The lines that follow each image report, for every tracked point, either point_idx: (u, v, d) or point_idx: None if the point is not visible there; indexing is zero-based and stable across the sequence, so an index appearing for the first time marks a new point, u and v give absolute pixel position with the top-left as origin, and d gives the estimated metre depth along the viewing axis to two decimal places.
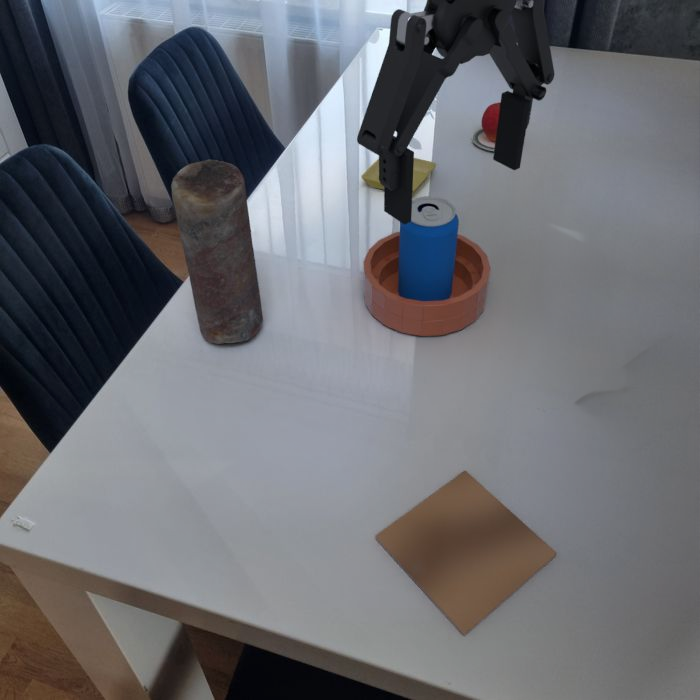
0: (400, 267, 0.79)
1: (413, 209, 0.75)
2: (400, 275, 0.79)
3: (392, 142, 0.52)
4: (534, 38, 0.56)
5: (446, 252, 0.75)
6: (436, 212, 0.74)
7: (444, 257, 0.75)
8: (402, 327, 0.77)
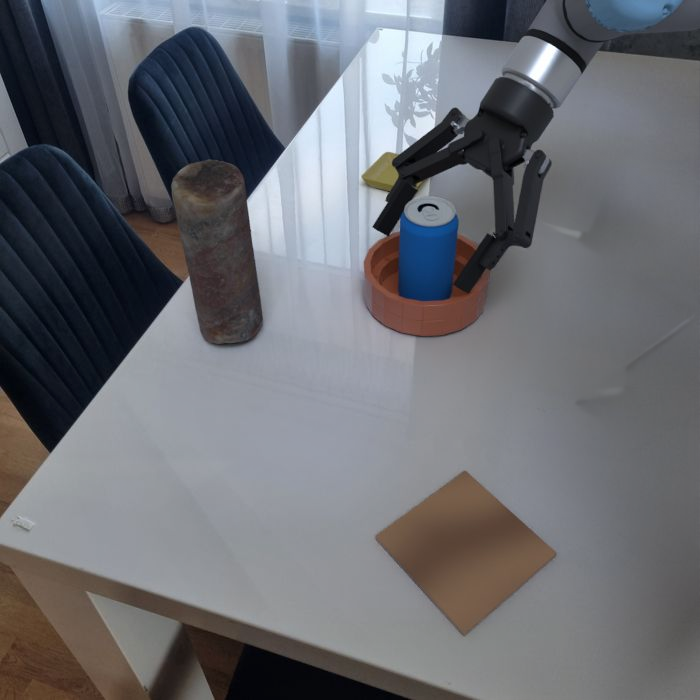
0: (400, 267, 0.79)
1: (413, 209, 0.75)
2: (400, 275, 0.79)
3: None
4: None
5: (446, 252, 0.75)
6: (436, 212, 0.74)
7: (444, 257, 0.75)
8: (402, 327, 0.77)
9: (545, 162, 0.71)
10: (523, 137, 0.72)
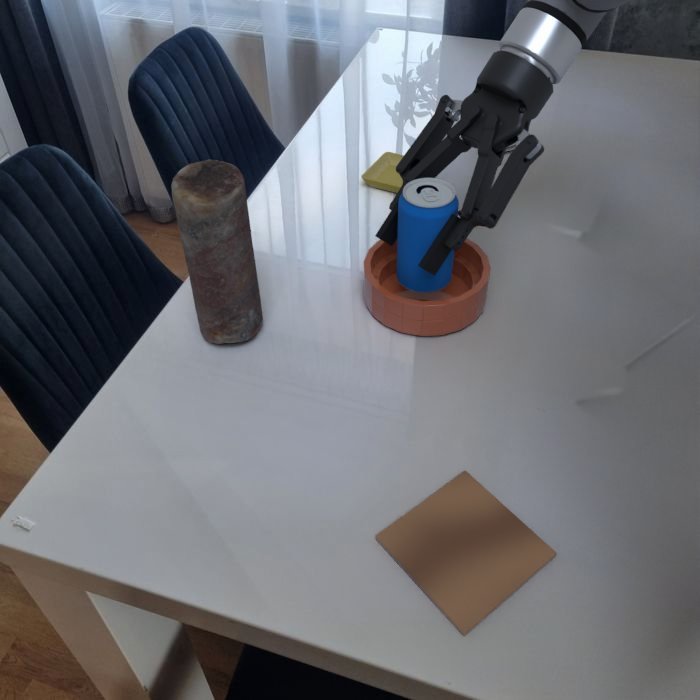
0: (398, 251, 0.77)
1: (412, 191, 0.73)
2: (398, 259, 0.77)
3: None
4: None
5: None
6: (436, 193, 0.72)
7: None
8: (402, 327, 0.77)
9: (535, 149, 0.69)
10: (522, 112, 0.69)
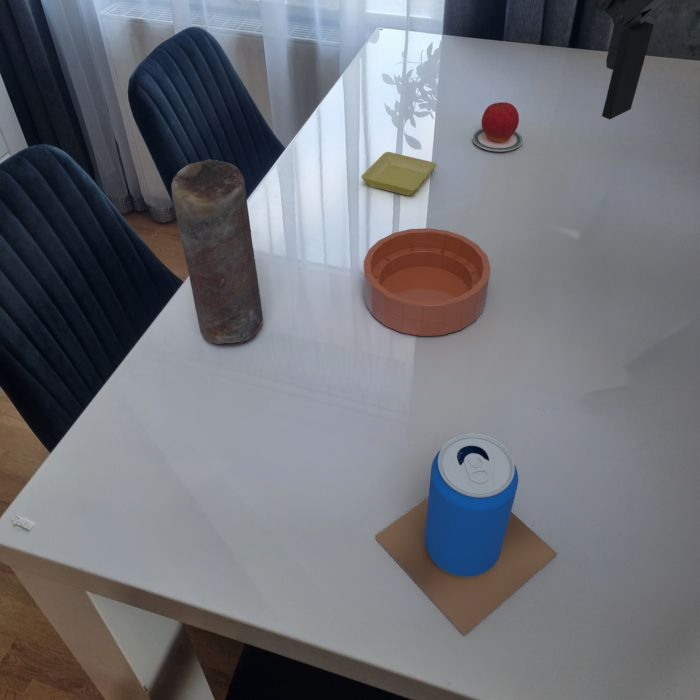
0: (430, 525, 0.55)
1: (451, 459, 0.51)
2: (429, 533, 0.55)
3: (620, 8, 0.49)
4: None
5: (500, 522, 0.51)
6: (486, 466, 0.50)
7: (497, 527, 0.51)
8: (402, 327, 0.77)
9: None
10: None
